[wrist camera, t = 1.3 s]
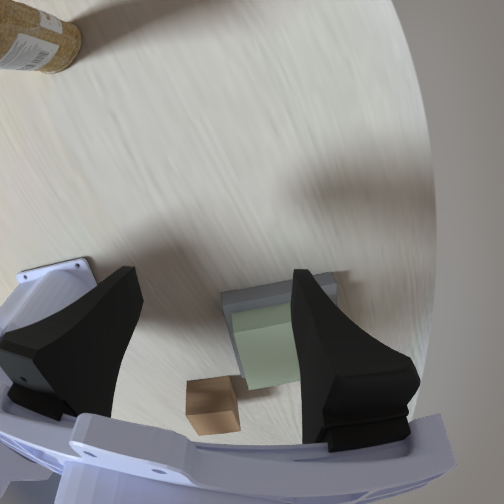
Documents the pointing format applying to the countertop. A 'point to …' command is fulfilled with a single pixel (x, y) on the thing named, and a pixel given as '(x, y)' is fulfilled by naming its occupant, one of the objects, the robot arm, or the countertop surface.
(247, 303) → the tower base
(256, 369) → the tower top
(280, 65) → the countertop surface
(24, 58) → the sprinkles bottle
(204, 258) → the countertop surface
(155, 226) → the countertop surface
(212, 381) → the walnut block
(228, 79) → the countertop surface
